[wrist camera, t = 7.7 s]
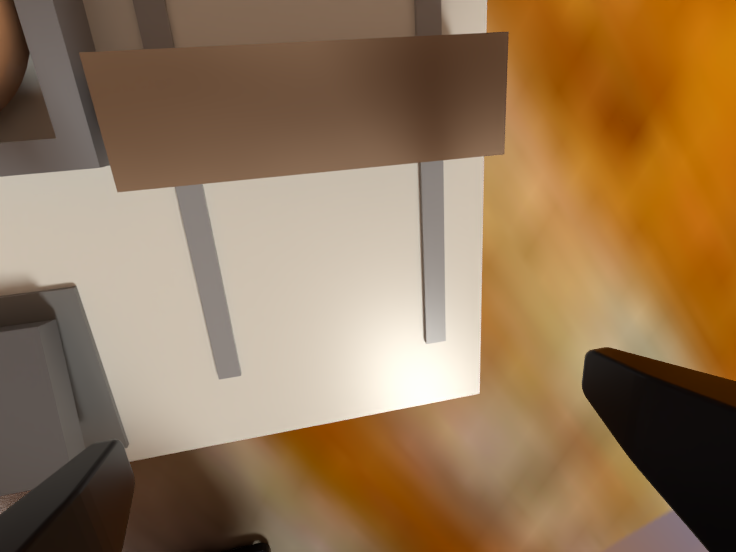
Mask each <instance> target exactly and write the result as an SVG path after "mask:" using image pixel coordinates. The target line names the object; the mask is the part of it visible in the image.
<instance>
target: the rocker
mask: <svg viewBox="0 0 736 552" xmlns="http://www.w3.org/2000/svg"><path fill="white" fill-rule="evenodd" d="M84 449H85V445H84V440H83V436H82V432H81V427H80V423H79V418H78V414H77V410H76V405H75V401H74V396H73V392H72V388H71V383H70V379H69V374H68V370H67V366H66V361H65V357H64V352H63V348H62V344H61V339H60V335H59V330H58V326H57V322H56V319H55V320H48V321H41V322H33V323H26V324H19V325H12V326H5V327H0V496H4V495H9V494H14V493H19V492H24V491H29V490H33V489H34V488H35V487H37V486H38V485H39V484H40V483H42V482H43V481H44V480H46V479H47V478H48V477H49V476H51V475H52V474H53V473H55V472H56V471H57V470H58V469H60V468H61V467H62V466H64V465H65V464H66V463H68V462H69V461H70V460H71V459H73V458H74V457H75V456H77V455H78V454H79V453H80V452H82V451H83V450H84Z"/></svg>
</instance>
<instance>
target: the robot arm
mask: <svg viewBox="0 0 736 552" xmlns="http://www.w3.org/2000/svg"><path fill="white" fill-rule="evenodd" d="M582 389H583V392H584V394H585V396H586V398H587V399H588V401H589V402H590V404H591V405H592V406H593V408H594V409H595V411H596V412H597V414H598V415H599V416H600V418H601V419H602V421H603V422H604V423H605V425H606V426H607V428H608V429H609V430H610V432H611V433H612V435H613V436H614V437H615V439H616V440H617V442H618V443H619V444H620V446H621V447H622V449H623V450H624V451H625V453H626V454H627V455H628V457H629V458H630V459H631V461H632V462H633V463H634V464H635V466H636V467H637V468H638V469H639V470H640V472H641V473H642V474H643V475H644V476H645V477H646V479H647V480H648V481H649V482H650V483H651V484H652V486H653V487H654V488H655V489H656V490H657V492H658V493H659V494H660V495H661V496H662V497H663V499H664V500H665V501H666V502H667V503H668V504H669V506H670V507H671V508H672V509H673V510H674V511H675V513H676V514H677V515H678V516H679V517H680V518H681V520H682V521H683V522H684V523H685V524H686V525H687V526H688V528H689V529H690V530H691V531H692V532H693V534H694V535H695V536H696V537H697V538H698V539H699V541H700V542H701V543H702V544H703V545H704V546H705V548H706V549H707V550H708V551H709V552H736V381H733V380H729V379H725V378H722V377H718V376H714V375H710V374H707V373H703V372H699V371H695V370H692V369H688V368H684V367H680V366H677V365H673V364H669V363H665V362H662V361H658V360H654V359H650V358H647V357H643V356H639V355H635V354H632V353H628V352H624V351H620V350H617V349H613V348H609V347H604V348H599V349H593V350H590V351H588V352H587V354H586V355H585V361H584V370H583V378H582ZM134 485H135V482H134V474H133V471H132V468H131V465H130V462H129V460H128V457H127V454H126V451H125V448H124V445H123V443H122V442H121V441H120V440H118V439H111V440H106V441H101V442H95V443H93V444H91V445H89V446H88V447H87V448H86V449H84V450H83V451H82V452H80V453H79V454H78V455H77V456H75V457H74V458H73V459H71V460H70V461H69V462H68V463H66V464H65V465H64V466H62V467H61V468H60V469H58V470H57V471H56V472H55V473H53V474H52V475H51V476H49V477H48V478H47V479H46V480H44V481H43V482H42V483H40V484H39V485H38V486H37V487H35V488H34V489H33V490H31V491H30V492H29V493H28V494H26V495H25V496H24V497H22V498H21V499H20V500H18V501H17V502H16V503H15V504H13V505H12V506H11V507H9V508H8V509H7V510H6V511H4V512H3V513H2V514H0V552H122V548H123V543H124V538H125V533H126V528H127V523H128V518H129V513H130V508H131V503H132V498H133V493H134ZM224 552H271V549H270V547H269V545H267V544H265V543H258V544H254V545H250V546H246V547H241V548H237V549H233V550H228V551H224Z"/></svg>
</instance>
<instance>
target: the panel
mask: <svg viewBox="0 0 736 552" xmlns="http://www.w3.org/2000/svg"><path fill="white" fill-rule="evenodd" d="M14 3H15V7H16V10H17V13H18V16H19V20H20V23H21V26H22V29H23V32H24V36H25V39H26V42H27V45H28V49H29V52H30V54H29V59H28V65H27V69H26V72H25V75H24V78H23V81H22V83H21V85H20V86H19V88H18V90H17V92H16V94H15V95H14V96H13V98H12V99H11V100H10V102H9V103H8V104H7V105H6V106H5V107H4V108H3V109H2V110H1V111H0V327H5V326H12V325H19V324H26V323H33V322H41V321H48V320H55V319H56V322H57V326H58V330H59V335H60V339H61V344H62V348H63V352H64V357H65V361H66V366H67V370H68V374H69V379H70V383H71V388H72V392H73V396H74V401H75V405H76V410H77V414H78V418H79V423H80V427H81V432H82V436H83V440H84V445H85V449H86V448H87V447H88V446H89V445H91V444H93V443H95V442H101V441H106V440H111V439H118V440H120V441H121V442H122V443H123V445H124V448H125V451H126V454H127V457H128V460H129V462H131V461H136V460H141V459H147V458H152V457H157V456H162V455H167V454H172V453H177V452H182V451H188V450H193V449H198V448H203V447H208V446H213V445H218V444H223V443H229V442H234V441H239V440H244V439H249V438H254V437H259V436H265V435H270V434H275V433H280V432H285V431H290V430H295V429H300V428H306V427H311V426H316V425H321V424H326V423H331V422H336V421H341V420H347V419H352V418H357V417H362V416H367V415H372V414H377V413H383V412H388V411H393V410H398V409H403V408H408V407H413V406H418V405H424V404H429V403H434V402H439V401H444V400H449V399H454V398H459V397H465V396H470V395H475V394H480V344H481V291H482V238H483V185H484V156H482V157H472V158H462V159H451V160H441V161H431V162H421V163H411V164H401V165H391V166H380V167H370V168H360V169H350V170H340V171H330V172H319V173H309V174H299V175H289V176H279V177H269V178H259V179H248V180H238V181H228V182H218V183H208V184H198V185H188V186H177V187H167V188H157V189H147V190H137V191H127V192H117V189H116V185H115V182H114V178H113V175H112V171H111V167H110V164H109V160H108V156H107V153H106V149H105V145H104V142H103V138H102V135H101V131H100V127H99V124H98V120H97V116H96V113H95V109H94V105H93V102H92V98H91V95H90V91H89V87H88V84H87V80H86V76H85V73H84V69H83V65H82V62H81V58H80V55H79V52H99V51H120V50H141V49H162V48H182V47H203V46H224V45H244V44H265V43H286V42H307V41H327V40H348V39H369V38H390V37H410V36H431V35H452V34H472V33H486V26H487V0H14Z"/></svg>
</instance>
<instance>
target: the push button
mask: <svg viewBox="0 0 736 552" xmlns="http://www.w3.org/2000/svg"><path fill="white" fill-rule="evenodd" d="M29 54H30V52H29V49H28V45H27V42H26V39H25V36H24V32H23V29H22V26H21V23H20V20H19V16H18V13H17V10H16V7H15V3H14V0H0V111H1V110H2V109H3V108H4V107H5V106H6V105H7V104H8V103H9V102H10V100H11V99H12V98H13V96H14V95H15V94H16V92H17V90H18V88H19V86H20V85H21V83H22V81H23V78H24V75H25V72H26V69H27V65H28V59H29Z"/></svg>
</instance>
